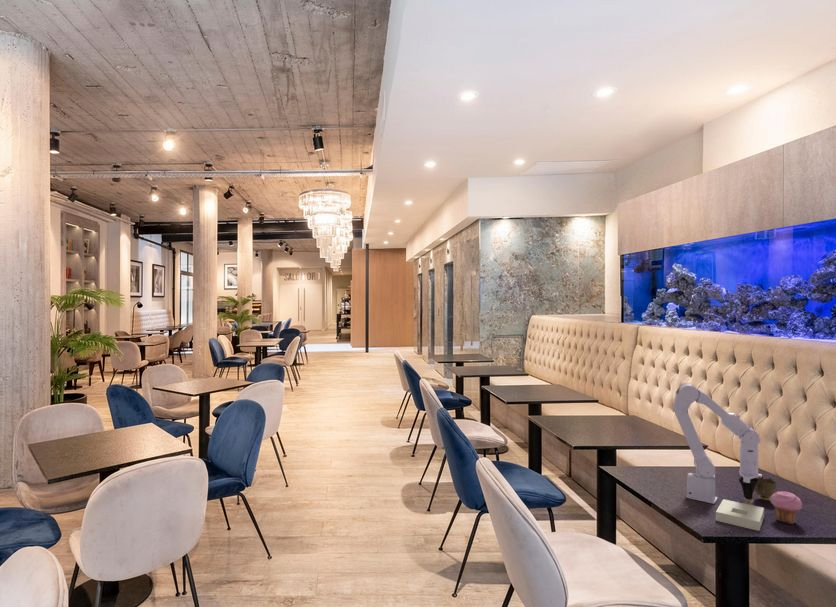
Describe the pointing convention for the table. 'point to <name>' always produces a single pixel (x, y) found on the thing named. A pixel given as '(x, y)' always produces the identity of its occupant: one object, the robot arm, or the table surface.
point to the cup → (765, 488)
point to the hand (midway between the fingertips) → (748, 497)
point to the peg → (748, 501)
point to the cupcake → (786, 506)
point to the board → (740, 514)
